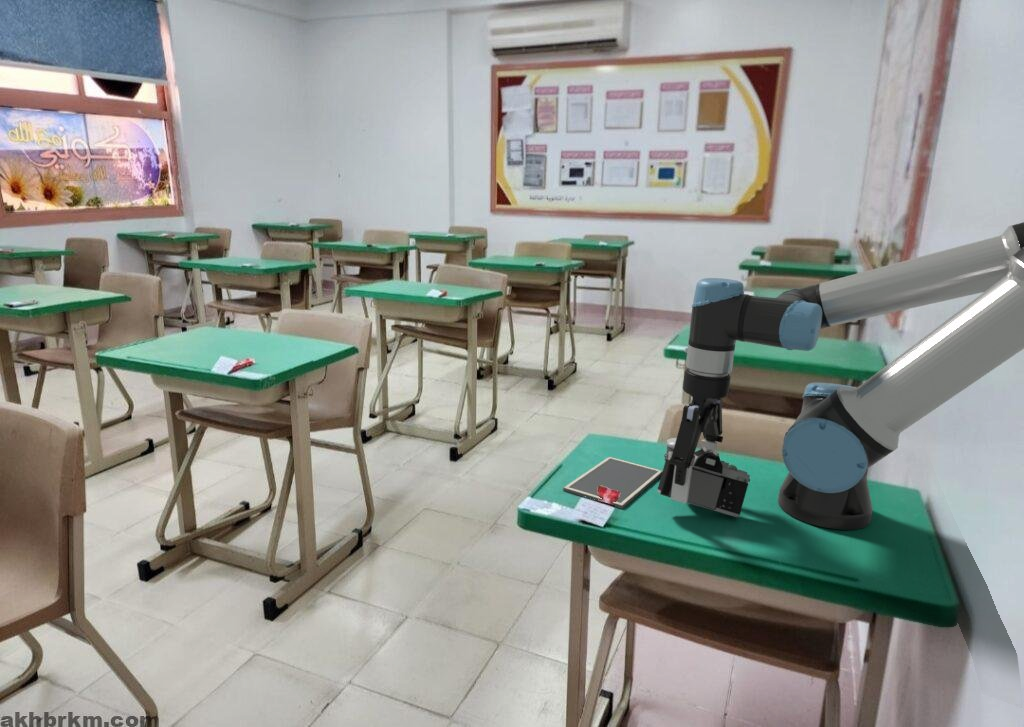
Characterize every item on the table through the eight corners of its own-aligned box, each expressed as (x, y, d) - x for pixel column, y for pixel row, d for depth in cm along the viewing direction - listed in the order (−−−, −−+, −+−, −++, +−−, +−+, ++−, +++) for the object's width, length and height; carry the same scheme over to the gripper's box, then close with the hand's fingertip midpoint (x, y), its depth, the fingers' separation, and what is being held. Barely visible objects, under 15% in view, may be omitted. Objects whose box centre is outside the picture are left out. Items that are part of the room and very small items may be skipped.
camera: (729, 511, 118) (743, 458, 119) (746, 521, 109) (762, 463, 110) (647, 487, 118) (662, 434, 119) (658, 494, 109) (674, 437, 110)
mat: (662, 474, 130) (663, 471, 129) (622, 509, 114) (622, 505, 114) (608, 459, 136) (608, 456, 136) (563, 490, 121) (563, 487, 121)
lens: (691, 476, 129) (695, 441, 127) (683, 483, 125) (686, 448, 124) (668, 470, 132) (672, 436, 130) (660, 477, 128) (663, 442, 126)
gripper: (708, 354, 121) (695, 460, 127) (658, 381, 101) (644, 506, 106) (750, 361, 117) (733, 470, 123) (706, 391, 97) (689, 520, 102)
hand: (692, 487), depth 114 cm, fingers open, 13 cm apart
